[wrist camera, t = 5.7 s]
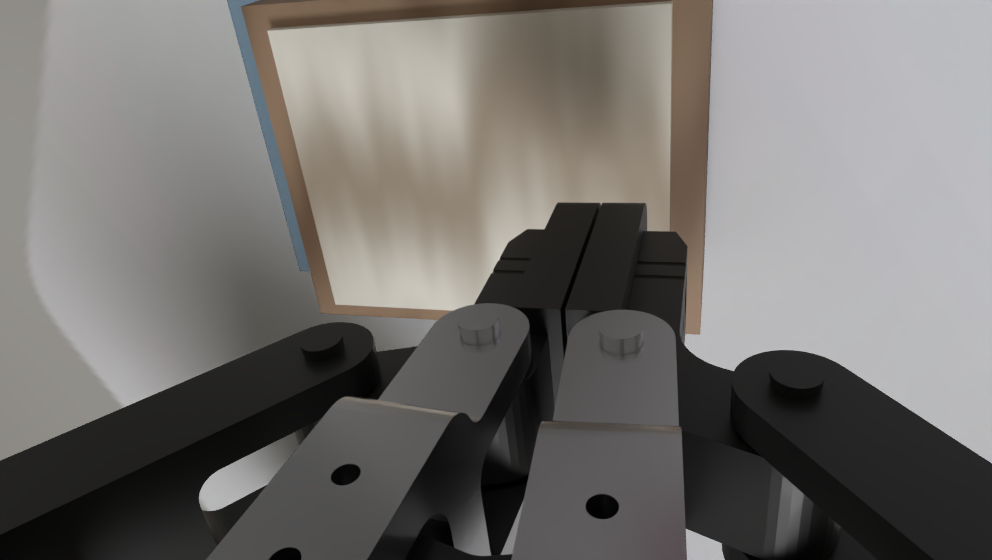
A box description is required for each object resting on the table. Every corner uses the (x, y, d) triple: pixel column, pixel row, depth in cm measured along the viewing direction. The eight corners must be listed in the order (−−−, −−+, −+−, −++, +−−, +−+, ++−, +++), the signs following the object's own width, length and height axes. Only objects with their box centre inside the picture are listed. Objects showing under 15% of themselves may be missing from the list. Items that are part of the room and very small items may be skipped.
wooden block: (715, -55, 17) (323, -21, 19) (712, -29, 13) (233, 9, 16) (704, 255, 20) (378, 247, 23) (699, 341, 17) (316, 319, 20)
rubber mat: (221, -53, 20) (213, -51, 20) (665, -100, 17) (665, -99, 16) (305, 265, 25) (300, 271, 25) (664, 278, 22) (663, 285, 21)
